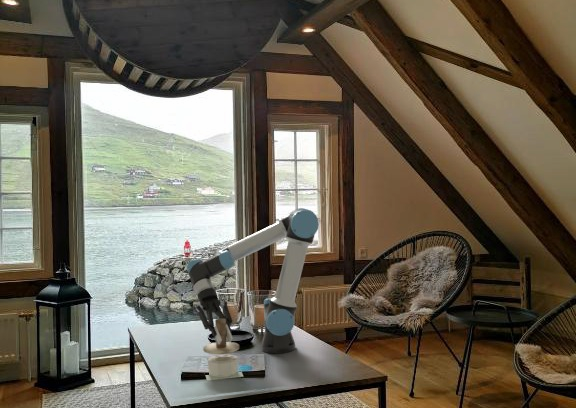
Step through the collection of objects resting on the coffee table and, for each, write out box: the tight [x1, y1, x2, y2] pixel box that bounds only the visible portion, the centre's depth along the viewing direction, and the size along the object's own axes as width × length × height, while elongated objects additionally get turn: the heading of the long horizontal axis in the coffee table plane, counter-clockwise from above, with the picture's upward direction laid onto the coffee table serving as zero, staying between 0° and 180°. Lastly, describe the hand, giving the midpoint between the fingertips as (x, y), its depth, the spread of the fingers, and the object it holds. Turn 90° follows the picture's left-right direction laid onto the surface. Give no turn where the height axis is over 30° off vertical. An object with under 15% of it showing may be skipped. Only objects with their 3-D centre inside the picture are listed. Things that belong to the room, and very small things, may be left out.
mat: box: [205, 371, 244, 381], centre depth 224 cm, size 14×14×1 cm
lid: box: [203, 318, 240, 355], centre depth 224 cm, size 14×14×12 cm
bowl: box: [207, 353, 239, 378], centre depth 224 cm, size 11×11×6 cm
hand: (225, 341), depth 221 cm, fingers closed on lid, 4 cm apart
